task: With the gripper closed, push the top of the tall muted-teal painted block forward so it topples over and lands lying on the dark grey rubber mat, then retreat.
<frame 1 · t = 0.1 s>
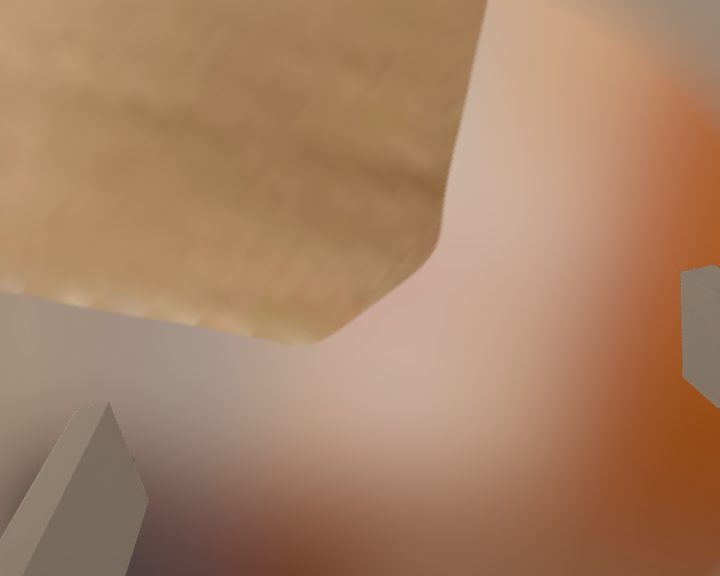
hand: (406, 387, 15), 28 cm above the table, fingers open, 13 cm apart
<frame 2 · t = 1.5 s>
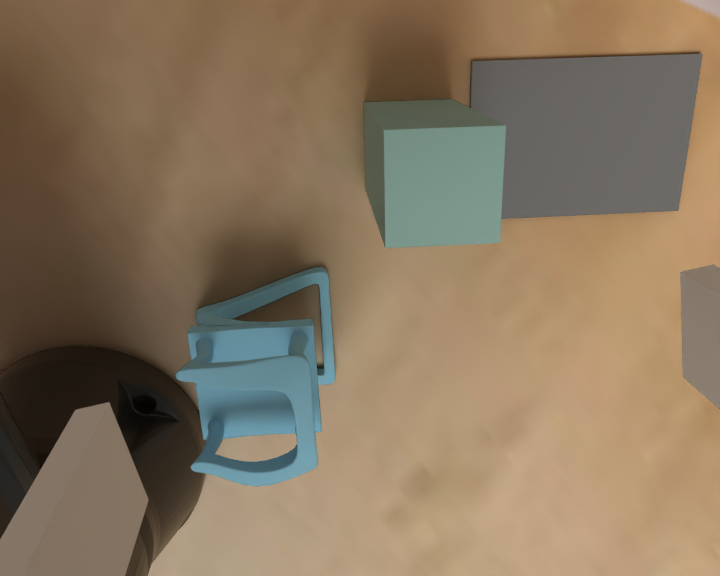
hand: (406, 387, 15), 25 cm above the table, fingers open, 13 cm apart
chair: (266, 326, 42), on the table
teal block: (408, 145, 38), on the table
slate mat: (578, 139, 38), on the table
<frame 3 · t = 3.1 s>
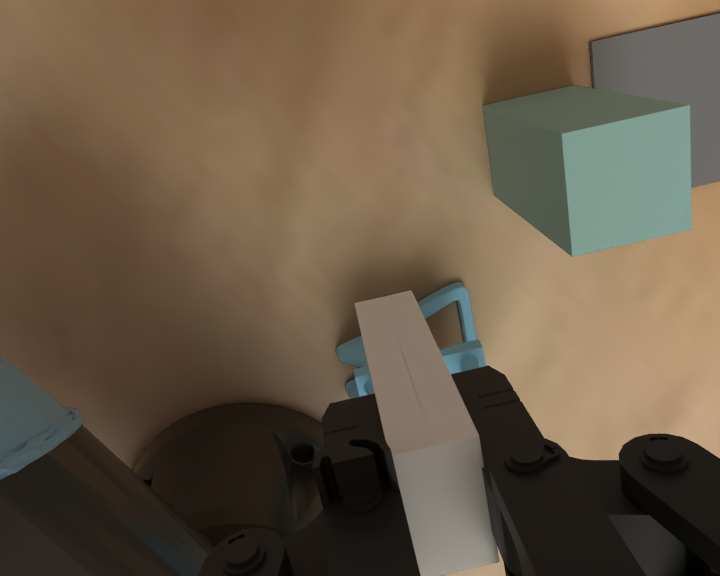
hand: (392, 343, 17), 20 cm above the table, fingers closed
chair: (406, 352, 40), on the table
teal block: (532, 141, 36), on the table
slate mat: (709, 102, 36), on the table
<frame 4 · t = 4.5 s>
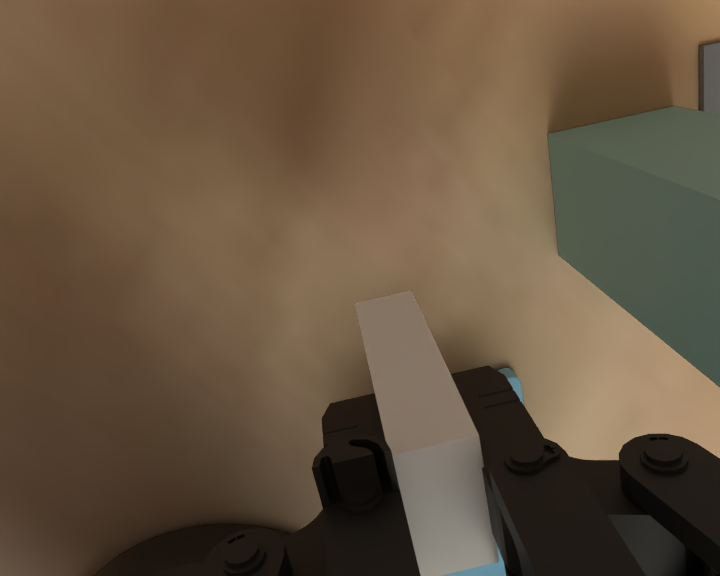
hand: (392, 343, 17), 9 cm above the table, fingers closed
chair: (435, 456, 30), on the table
teal block: (614, 183, 26), on the table
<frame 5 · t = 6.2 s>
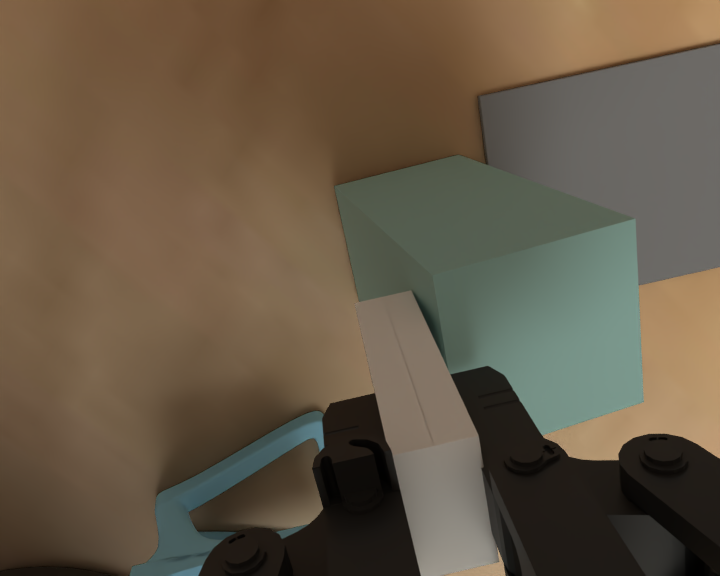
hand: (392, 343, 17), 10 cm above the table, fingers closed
chair: (255, 497, 30), on the table
teal block: (408, 232, 26), on the table, tilted 8°, touching gripper
slate mat: (649, 175, 26), on the table
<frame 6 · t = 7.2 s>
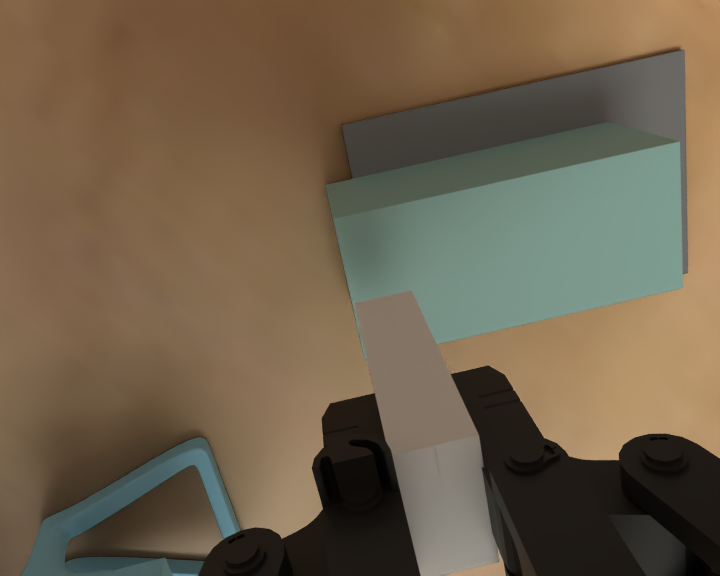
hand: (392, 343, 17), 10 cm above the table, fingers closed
chair: (144, 522, 30), on the table
teal block: (343, 267, 23), point 3 cm above the table, tilted 90°, touching slate mat
slate mat: (524, 202, 26), on the table
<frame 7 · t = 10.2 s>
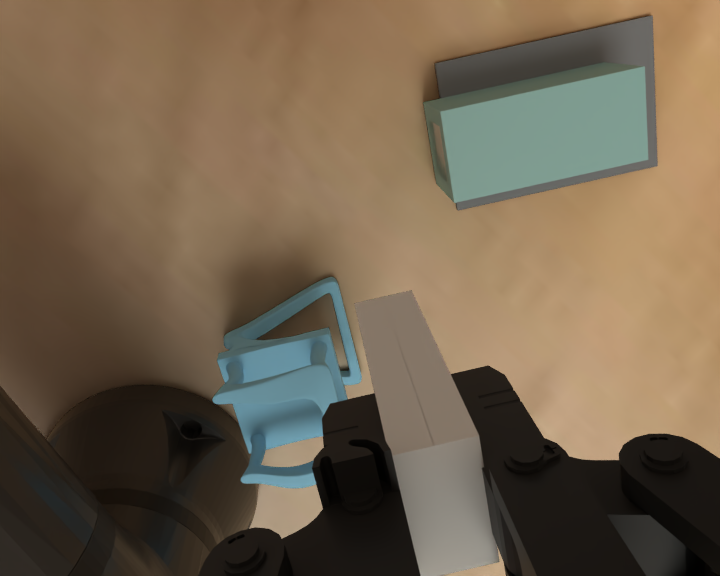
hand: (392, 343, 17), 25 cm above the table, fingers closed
chair: (289, 340, 44), on the table
teal block: (438, 150, 38), point 3 cm above the table, tilted 90°, touching slate mat
slate mat: (549, 116, 40), on the table
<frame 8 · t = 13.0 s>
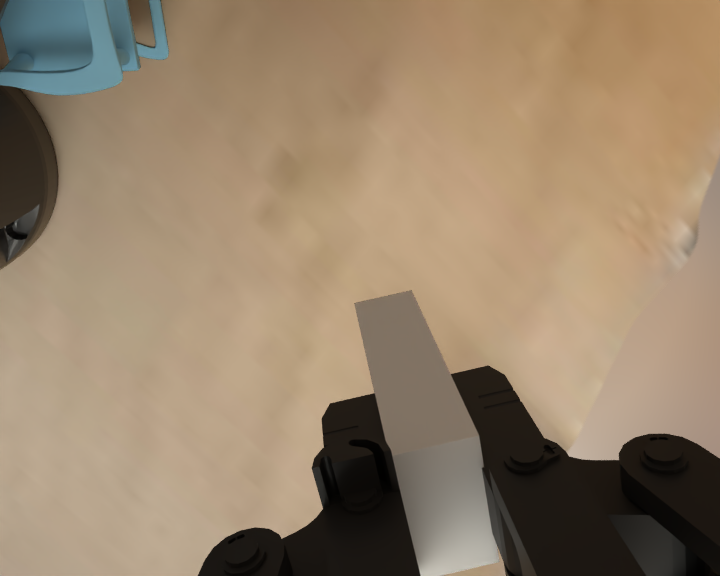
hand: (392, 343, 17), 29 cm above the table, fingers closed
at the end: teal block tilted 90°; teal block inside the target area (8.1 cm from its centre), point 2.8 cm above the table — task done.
